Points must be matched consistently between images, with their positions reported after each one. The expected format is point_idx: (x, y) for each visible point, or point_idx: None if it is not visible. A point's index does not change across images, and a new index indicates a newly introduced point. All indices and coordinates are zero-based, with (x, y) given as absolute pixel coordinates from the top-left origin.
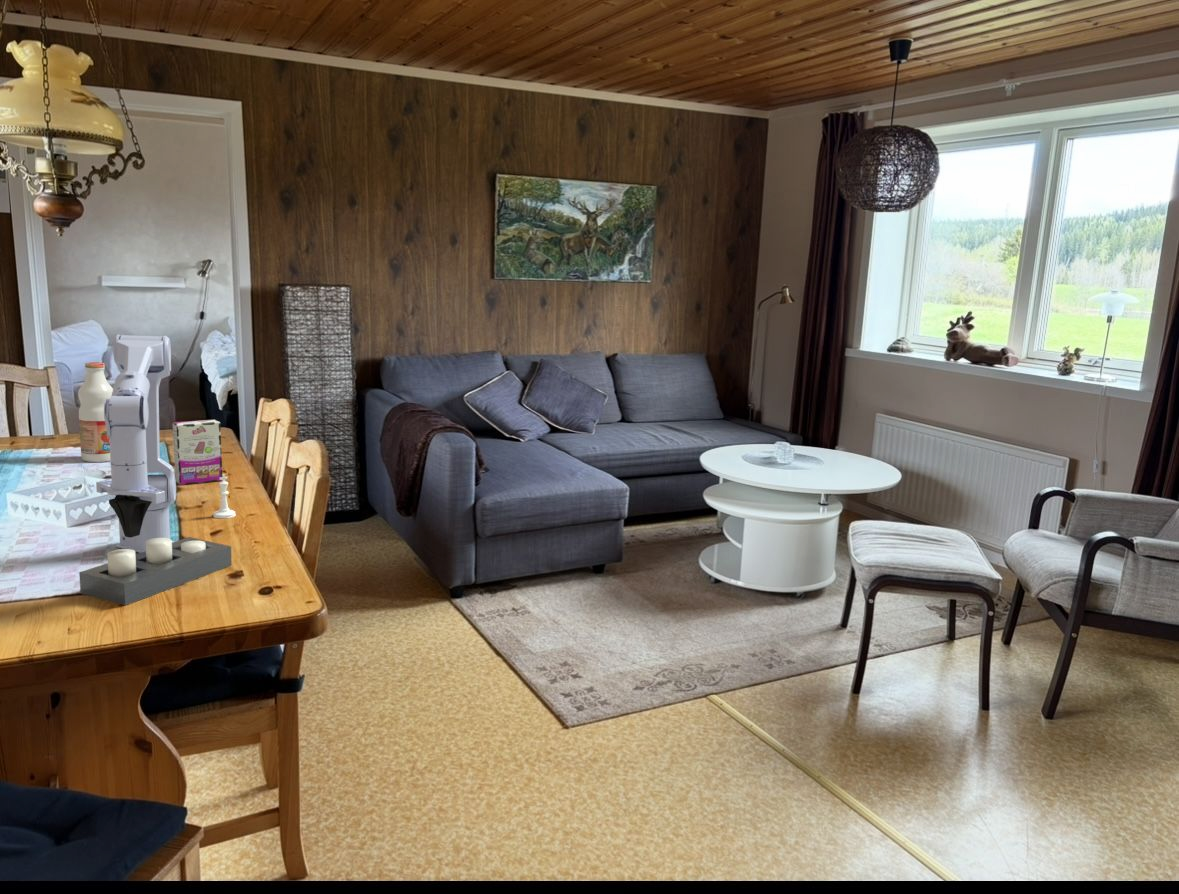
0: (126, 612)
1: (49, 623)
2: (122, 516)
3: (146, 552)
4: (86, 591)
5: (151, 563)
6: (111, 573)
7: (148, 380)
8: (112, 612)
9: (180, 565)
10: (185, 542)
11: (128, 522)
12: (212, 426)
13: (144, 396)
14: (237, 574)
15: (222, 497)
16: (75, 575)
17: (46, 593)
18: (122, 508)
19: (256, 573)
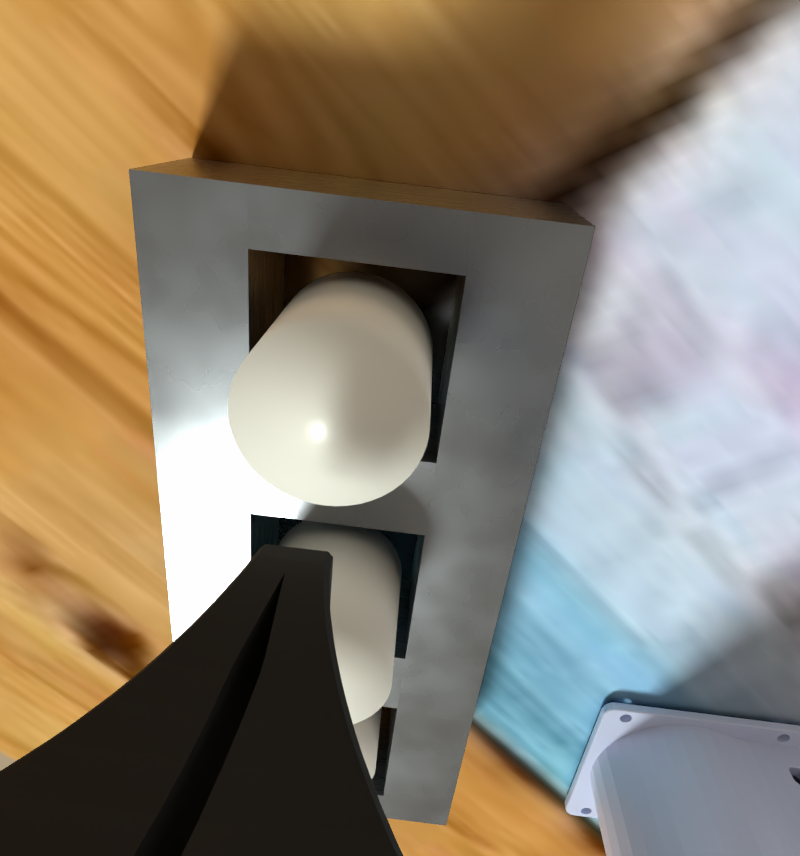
0: (96, 71)
1: None
2: (250, 711)
3: (359, 582)
4: (515, 201)
5: (324, 531)
6: (352, 283)
7: None
8: (161, 31)
9: (167, 559)
10: (367, 766)
11: (177, 646)
12: None
13: None
14: (116, 651)
15: None
16: (781, 412)
17: (769, 116)
18: (100, 817)
19: (67, 678)
